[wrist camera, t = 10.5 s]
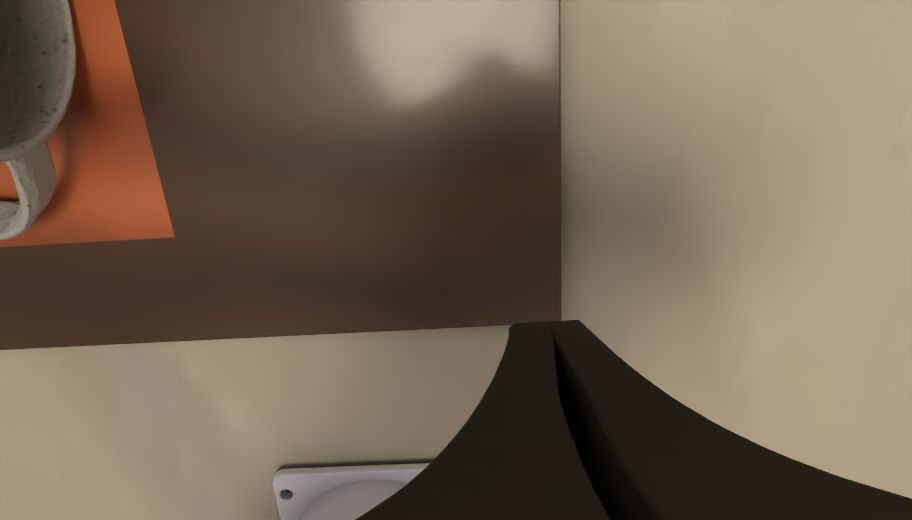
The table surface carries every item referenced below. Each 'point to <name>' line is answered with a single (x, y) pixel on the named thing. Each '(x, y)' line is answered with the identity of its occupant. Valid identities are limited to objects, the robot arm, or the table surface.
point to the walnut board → (295, 173)
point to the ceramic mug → (32, 101)
